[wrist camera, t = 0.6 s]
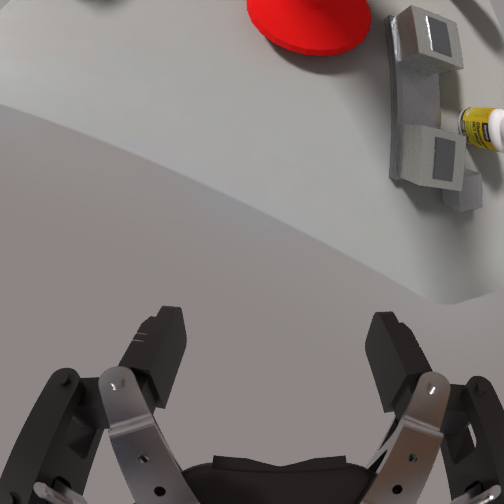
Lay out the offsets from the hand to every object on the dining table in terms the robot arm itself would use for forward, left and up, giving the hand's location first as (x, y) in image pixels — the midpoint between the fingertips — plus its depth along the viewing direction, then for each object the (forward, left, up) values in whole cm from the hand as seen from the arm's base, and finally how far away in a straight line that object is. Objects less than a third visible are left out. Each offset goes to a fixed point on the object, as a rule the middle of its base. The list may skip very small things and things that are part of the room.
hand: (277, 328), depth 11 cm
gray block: (-2, +28, -28) cm, 39 cm away
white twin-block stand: (-14, +20, -27) cm, 37 cm away
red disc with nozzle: (-25, +5, -28) cm, 38 cm away
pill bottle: (-12, +31, -28) cm, 43 cm away
